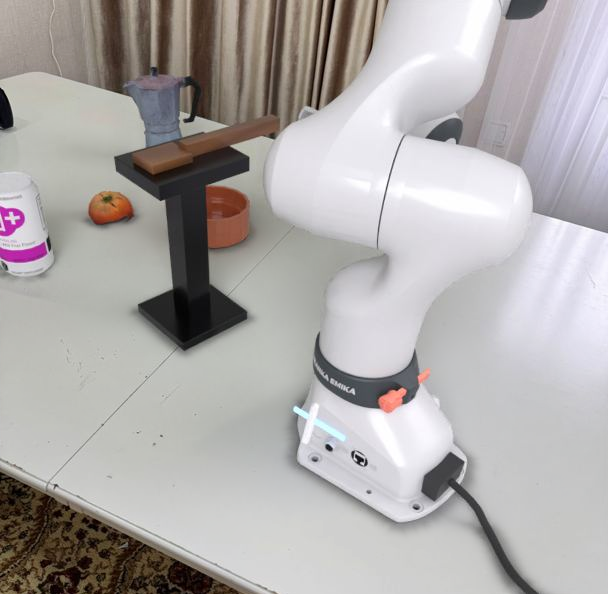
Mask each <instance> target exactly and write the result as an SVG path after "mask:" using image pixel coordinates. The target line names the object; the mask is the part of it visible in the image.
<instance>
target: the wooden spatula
mask: <svg viewBox="0 0 608 594" xmlns="http://www.w3.org/2000/svg"><path fill="white" fill-rule="evenodd" d="M280 130H281V118H280V117H279V116H277V115H274V114H272V113H271V114H267V115H264V116H260V117H257V118H253V119H250V120H246V121H243V122H239V123H236V124H232V125H229V126H225V127H221V128H218V129H214V130H211V131H208V132H205V133H204V134H200V135H196V136H193V137H189V138H186V139H182V140H179V141H178V145H176V144H175V143H173V142H171V143H167V144H163V145H160V146H156V147H153V148H149V149H146V150H142V151H139V152H135V153H132V158H133V162H134V163H135V164H137V165H138V166H140V167H141V168H143V169H144V170H146V171H147V172H149V173H151V174H152V175H154V174H157V173H161V172H164V171H167V170H170V169H173V168H177V167H180V166H183V165H186V164H190V163H193V157H195V156H198V155H201V154H205V153H208V152H211V151H215V150H218V149H221V148H224V147H228V146H231V147H232V146H234V145H237V144H241V143H243V142H247V141H250V140H253V139H257V138H261V137H263V136H266V135H269V134H273V133H277V132H279V131H280Z"/></svg>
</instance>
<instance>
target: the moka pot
mask: <svg viewBox="0 0 608 594" xmlns="http://www.w3.org/2000/svg"><path fill="white" fill-rule="evenodd" d="M149 70H150V74H148V75H141V76H138V77H136V78H135V79H132V80H129V81H126V82H125V83H124V84H123V86H122V88H123V89H125V90H126V92H127V93H128V94H129V96H130V97H131V99H132V101H133V102H134V104H135V105H136V107H137V109H138V112H139V116H140V117H139V118H140V119H141V120H142V122H143V126H144V131H143V133H144V137H145V148H146V147H150V146H154V145H157V144H161V143H164V142H168V141H171V140H175V139H179V138H182V137H183V134H182V131H181V128H180V122H181V119H180V117H181V116H180V115H181V88H183V89H185V88H187V87H190V86H192V87H193V89H194V92H193V98H192V103H191V111H190V114H189V117H187V118H183V119H182V122H183V123H184V124H188V123H190V124H191V123H194V122H195V119H196V115H197V110H198V106H199V102H200V98H201V94H202V86H201V85H200V84H199V82H198V81H196V80H195V78H193V77H192V75H188V76H185V77H183V76H177V77H174V76H173V75H171V74H161V73H160V74H158V67H157V66H151V67H149Z"/></svg>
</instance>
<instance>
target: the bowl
mask: <svg viewBox="0 0 608 594" xmlns="http://www.w3.org/2000/svg"><path fill="white" fill-rule="evenodd" d="M206 203H207V227H208V249H209V248H212V249H213V248H214V249H218V248H226V247H231V246H234V245H236V244H238V243H241V242H243V241H244V240H245V239H246V238H247V237H248V236H249V234H250V229H251V201H250V199H249V197H248V196H247V194H245V193H243V192H242V191H240V190H238V189H236V188H233V187H230V186H225V185H214V184H210V185H207V186H206Z"/></svg>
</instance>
